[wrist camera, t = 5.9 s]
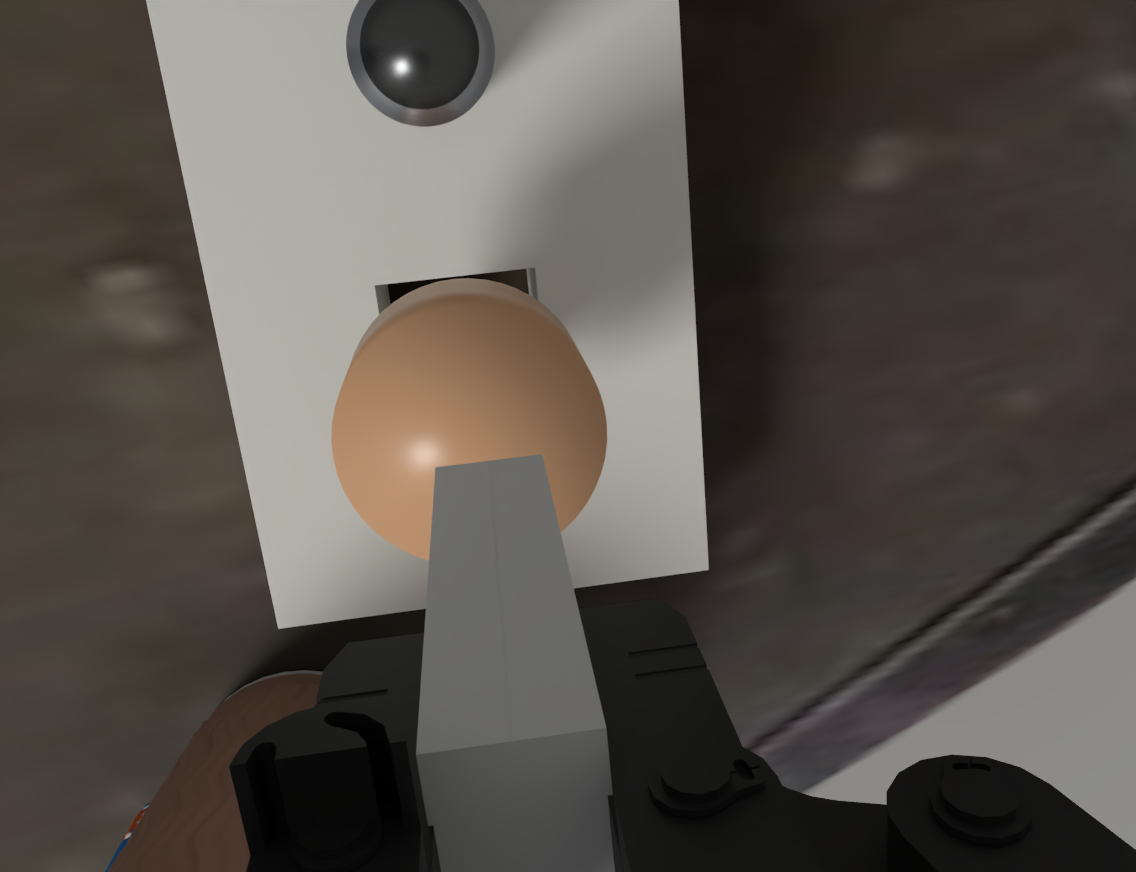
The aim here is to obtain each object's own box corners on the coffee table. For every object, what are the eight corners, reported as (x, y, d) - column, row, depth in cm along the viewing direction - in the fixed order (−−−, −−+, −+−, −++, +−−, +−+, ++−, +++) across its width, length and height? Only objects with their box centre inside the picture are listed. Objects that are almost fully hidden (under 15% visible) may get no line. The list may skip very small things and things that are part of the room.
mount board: (298, 565, 31) (278, 628, 27) (72, -578, 22) (-5, -717, 18) (678, 515, 32) (708, 570, 28) (608, -602, 23) (639, -740, 19)
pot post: (380, 126, 24) (355, 134, 17) (362, 7, 23) (329, -30, 16) (490, 115, 24) (505, 119, 18) (476, -3, 23) (487, -44, 17)
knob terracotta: (378, 462, 26) (355, 582, 20) (346, 264, 25) (308, 322, 18) (575, 437, 27) (617, 547, 20) (556, 240, 25) (595, 289, 18)
